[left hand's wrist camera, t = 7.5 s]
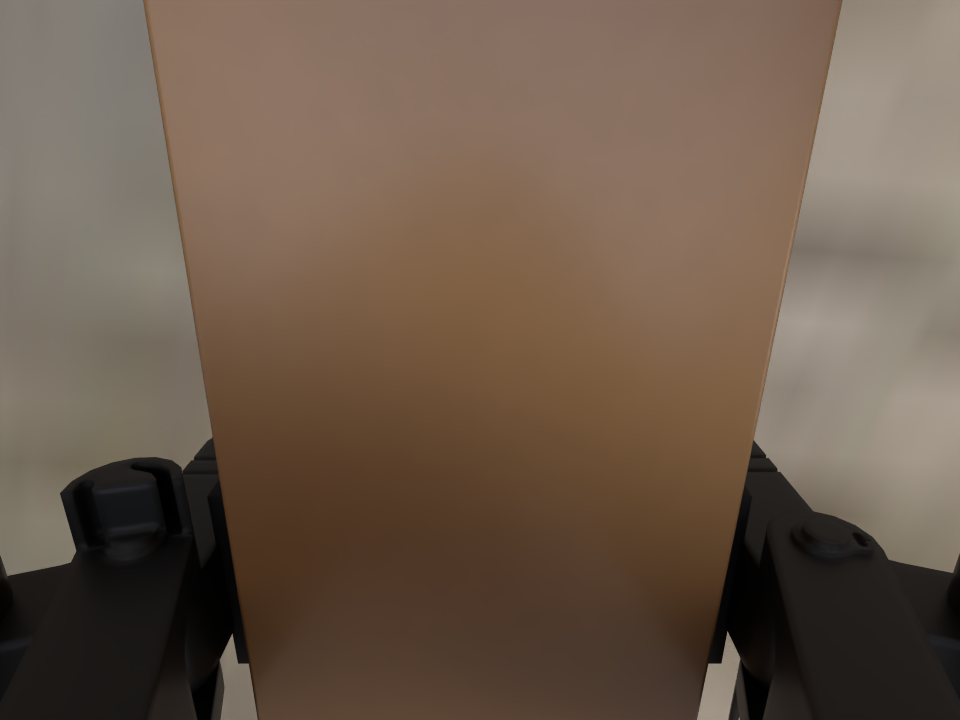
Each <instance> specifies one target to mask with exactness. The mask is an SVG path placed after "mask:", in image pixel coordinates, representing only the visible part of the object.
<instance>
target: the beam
mask: <svg viewBox="0 0 960 720" xmlns="http://www.w3.org/2000/svg"><path fill="white" fill-rule="evenodd" d="M143 2H144V8H145V14H146V20H147V27H148V33H149V39H150V45H151V52H152V58H153V64H154V71H155V77H156V83H157V89H158V96H159V102H160V108H161V115H162V121H163V127H164V133H165V140H166V146H167V152H168V158H169V165H170V171H171V177H172V184H173V190H174V196H175V202H176V209H177V215H178V221H179V227H180V234H181V240H182V246H183V253H184V259H185V265H186V271H187V278H188V284H189V290H190V297H191V303H192V309H193V315H194V322H195V328H196V334H197V340H198V347H199V353H200V359H201V366H202V372H203V378H204V384H205V391H206V397H207V403H208V410H209V416H210V422H211V428H212V435H213V441H214V447H215V453H216V460H217V466H218V472H219V479H220V485H221V491H222V497H223V504H224V510H225V516H226V522H227V529H228V535H229V541H230V548H231V554H232V560H233V566H234V573H235V579H236V585H237V592H238V598H239V604H240V610H241V617H242V623H243V629H244V635H245V642H246V648H247V654H248V661H249V667H250V673H251V679H252V686H253V692H254V698H255V705H256V711H257V717H258V720H697V716H698V712H699V707H700V702H701V697H702V692H703V687H704V682H705V677H706V672H707V667H708V662H709V657H710V652H711V647H712V642H713V637H714V632H715V628H716V623H717V618H718V613H719V608H720V603H721V598H722V593H723V588H724V583H725V578H726V573H727V568H728V563H729V558H730V553H731V548H732V544H733V539H734V534H735V529H736V524H737V519H738V514H739V509H740V504H741V499H742V494H743V489H744V484H745V479H746V474H747V469H748V464H749V459H750V455H751V450H752V445H753V440H754V435H755V430H756V425H757V420H758V415H759V410H760V405H761V400H762V395H763V390H764V385H765V380H766V375H767V371H768V366H769V361H770V356H771V351H772V346H773V341H774V336H775V331H776V326H777V321H778V316H779V311H780V306H781V301H782V296H783V291H784V286H785V282H786V277H787V272H788V267H789V262H790V257H791V252H792V247H793V242H794V237H795V232H796V227H797V222H798V217H799V212H800V207H801V202H802V198H803V193H804V188H805V183H806V178H807V173H808V168H809V163H810V158H811V153H812V148H813V143H814V138H815V133H816V128H817V123H818V118H819V114H820V109H821V104H822V99H823V94H824V89H825V84H826V79H827V74H828V69H829V64H830V59H831V54H832V49H833V44H834V39H835V34H836V29H837V25H838V20H839V15H840V10H841V5H842V0H143Z"/></svg>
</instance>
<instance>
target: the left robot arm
mask: <svg viewBox="0 0 960 720" xmlns="http://www.w3.org/2000/svg"><path fill="white" fill-rule="evenodd" d="M60 495H61V498H62V502H63V505H64V509H65V512H66V516H67V519H68V523H69V526H70V530H71V533H72V537H73V540H74V544H75V547H76V553H75V555H74V557H73V559H72V561H71V563H68V564H64V565H60V566H55V567H50V568H45V569H40V570H35V571H30V572H25V573H20V574H15V575H10V576H7V574H6V571H5V568H4V565H3V562H2V559H1V556H0V720H220V719H221V711H222V703H223V695H224V681H223V674H222V669H221V664H220V658H221V656H222V654H223V652H224V650H225V648H226V645H227V643H228V641H229V639H230V637H231V635H232V633H233V638H234V644H235V649H236V654H237V660H238V663H249V661H248V654H247V648H246V642H245V635H244V629H243V623H242V617H241V610H240V604H239V598H238V592H237V585H236V579H235V573H234V566H233V560H232V554H231V548H230V541H229V535H228V529H227V522H226V516H225V510H224V504H223V497H222V491H221V485H220V479H219V472H218V466H217V460H216V453H215V447H214V441H213V438H211V439H210V440H208V441H207V442H206V443H205V445H204V446H203V447H202V448H201V449H200V451H199V452H198V453H197V454H196V455H195V457H194V460H191V461H190V463H189V464H188V465H187V466H186V467H185V469H184V470H183V474H182V469H181V467H180V466H179V465H177V464H176V463H175V462H173V461H172V460H167V459H162V458H157V457H147V458H132V459H127V460H122V461H117V462H113V463H110V464H107V465H104V466H102V467H99V468H96V469H93V470H91V471H89V472H87V473H85V474H84V475H82V476H80V477H78V478H77V479H75V480H73V481H72V482H71V483H70V484H69V485H68V486H67V487H66V488H65V489H64V490H63V491H62V492H61V493H60ZM727 631H728V633H729V635H730V637H731V639H732V641H733V643H734V645H735V647H736V649H737V652H738V654H739V656H740V658H741V659H740V664H739V669H738V674H737V679H736V684H735V689H734V694H733V699H732V704H731V709H730V714H729V720H738V719H739V717H740V720H960V554H959V557H958V560H957V563H956V566H955V569H954V572H953V573H949V572H944V571H939V570H934V569H929V568H924V567H919V566H914V565H909V564H904V563H899V562H895V561H891V560H888V558H887V556H886V554H885V552H884V550H883V549H882V548H881V547H880V545H879V544H878V543H877V542H876V541H875V539H874V538H873V537H872V536H870V535H869V534H867V533H866V532H864V531H863V530H861V529H860V528H859V527H857V526H856V525H853V524H851V523H849V522H846V521H844V520H842V519H839V518H837V517H835V516H831V515H827V514H822V513H818V512H814V511H812V509H811V508H810V507H809V506H808V505H807V503H806V502H805V501H804V500H803V499H802V497H801V496H800V495H799V494H798V493H797V491H796V490H795V489H794V488H793V487H792V486H791V484H790V483H789V482H788V481H787V480H786V478H785V477H784V476H783V475H782V474H781V472H777V468H776V466H775V465H774V464H773V463H772V462H771V460H770V459H769V458H766V455H765V453H764V452H763V451H762V450H761V449H760V447H759V446H758V445H757V444H756V443H755V441H754V440H753V445H752V450H751V455H750V459H749V464H748V469H747V474H746V479H745V484H744V489H743V494H742V499H741V504H740V509H739V514H738V519H737V524H736V529H735V534H734V539H733V544H732V548H731V553H730V558H729V563H728V568H727V573H726V578H725V583H724V588H723V593H722V598H721V603H720V608H719V613H718V618H717V623H716V628H715V632H714V637H713V642H712V647H711V652H710V657H709V662H708V663H722V657H723V652H724V646H725V641H726V636H727Z"/></svg>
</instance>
